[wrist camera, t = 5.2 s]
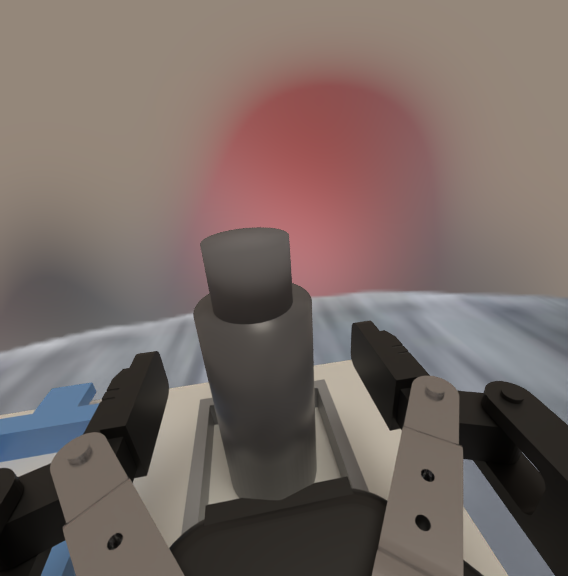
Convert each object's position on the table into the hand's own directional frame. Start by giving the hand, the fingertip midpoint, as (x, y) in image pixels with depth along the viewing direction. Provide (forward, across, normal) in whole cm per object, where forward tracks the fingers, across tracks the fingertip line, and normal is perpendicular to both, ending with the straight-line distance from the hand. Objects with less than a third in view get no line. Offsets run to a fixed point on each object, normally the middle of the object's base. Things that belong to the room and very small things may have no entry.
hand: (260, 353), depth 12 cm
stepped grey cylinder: (0, 0, +7) cm, 7 cm away
